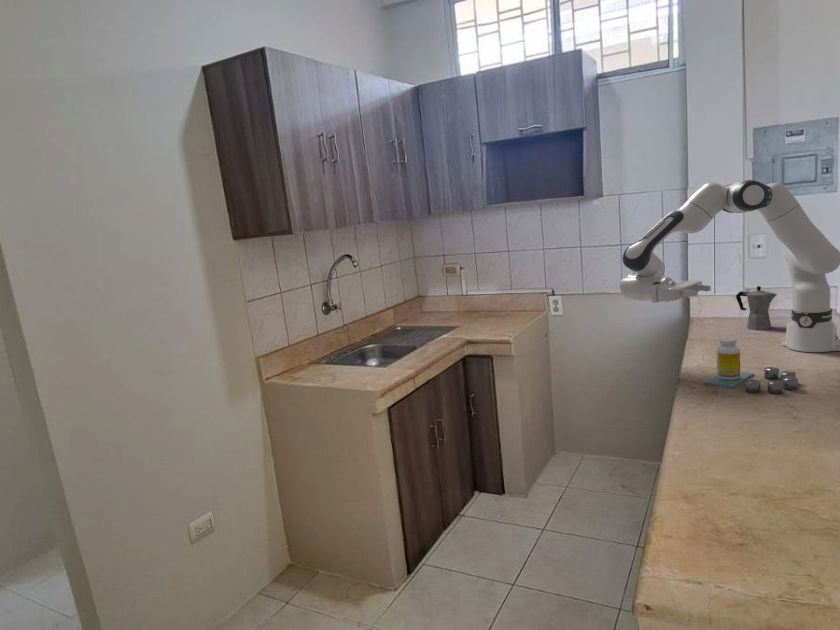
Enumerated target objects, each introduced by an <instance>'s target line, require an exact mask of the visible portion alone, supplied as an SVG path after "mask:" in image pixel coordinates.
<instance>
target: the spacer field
mask: <svg viewBox="0 0 840 630" xmlns="http://www.w3.org/2000/svg"><path fill="white" fill-rule="evenodd" d="M763 371H764V376H763V377H764V379H765V378H766V380H767V383H766V385H767V389H766V390H767V393H769V394H771V395H782V394H784V390H785V391H793V390H794V391H798V390H799V379H798V378H797V373H796V372H794V371H791V370H790V371H789V370H788V371H787V370H783V371H780V368H778V367H773V366H768V367H764V369H763ZM769 379H771V380H769ZM775 379H777V380H775ZM779 379H780V380H779ZM744 382H745V383H744V384H745V386H744V387H745V392H746V393H748V394H759V393H761V391H762V390H761V386H762V385H761V382H762V381H761V380H758V379H757V380H756V379H747V380H745V381H744ZM797 389H798V390H797Z"/></svg>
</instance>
